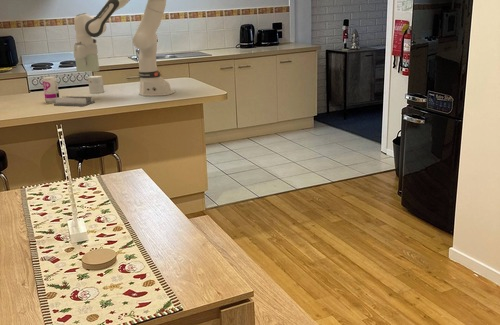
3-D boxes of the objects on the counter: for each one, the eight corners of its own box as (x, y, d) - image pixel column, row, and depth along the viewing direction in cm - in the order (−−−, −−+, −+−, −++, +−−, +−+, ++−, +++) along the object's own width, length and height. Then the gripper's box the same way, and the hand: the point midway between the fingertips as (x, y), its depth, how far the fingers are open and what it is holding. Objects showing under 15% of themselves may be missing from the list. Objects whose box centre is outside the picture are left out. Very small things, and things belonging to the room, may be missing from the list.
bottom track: (94, 102, 321) (94, 95, 320) (83, 106, 310) (82, 99, 309) (66, 101, 327) (65, 95, 325) (53, 105, 316) (52, 98, 314)
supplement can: (51, 103, 322) (48, 78, 317) (43, 102, 326) (39, 78, 321) (62, 101, 328) (59, 76, 324) (54, 100, 332) (50, 76, 328)
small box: (104, 91, 356) (102, 75, 353) (101, 93, 351) (99, 77, 348) (92, 91, 357) (90, 75, 354) (89, 93, 352) (87, 77, 349)
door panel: (99, 71, 329) (97, 54, 326) (96, 71, 326) (94, 55, 323) (79, 70, 333) (77, 54, 330) (76, 71, 330) (74, 55, 327)
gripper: (78, 43, 314) (82, 66, 318) (97, 39, 332) (100, 62, 337) (69, 43, 316) (72, 66, 320) (89, 39, 334) (92, 62, 338)
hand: (87, 64), depth 328 cm, fingers closed on door panel, 3 cm apart
